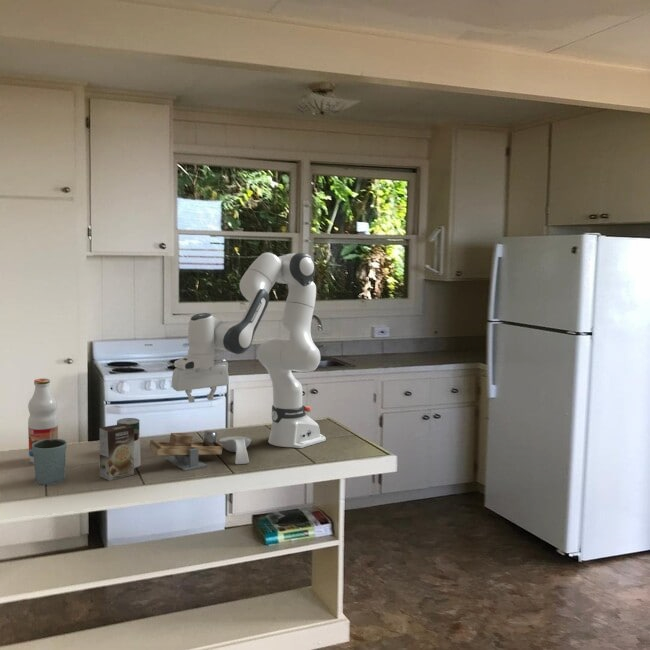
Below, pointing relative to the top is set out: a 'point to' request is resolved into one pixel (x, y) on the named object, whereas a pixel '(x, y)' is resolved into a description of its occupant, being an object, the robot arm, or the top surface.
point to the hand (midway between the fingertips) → (200, 400)
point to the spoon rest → (237, 447)
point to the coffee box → (116, 451)
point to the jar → (136, 448)
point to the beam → (183, 448)
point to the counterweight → (209, 438)
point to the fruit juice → (42, 415)
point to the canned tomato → (130, 422)
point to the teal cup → (49, 460)
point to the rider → (180, 439)
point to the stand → (187, 460)
